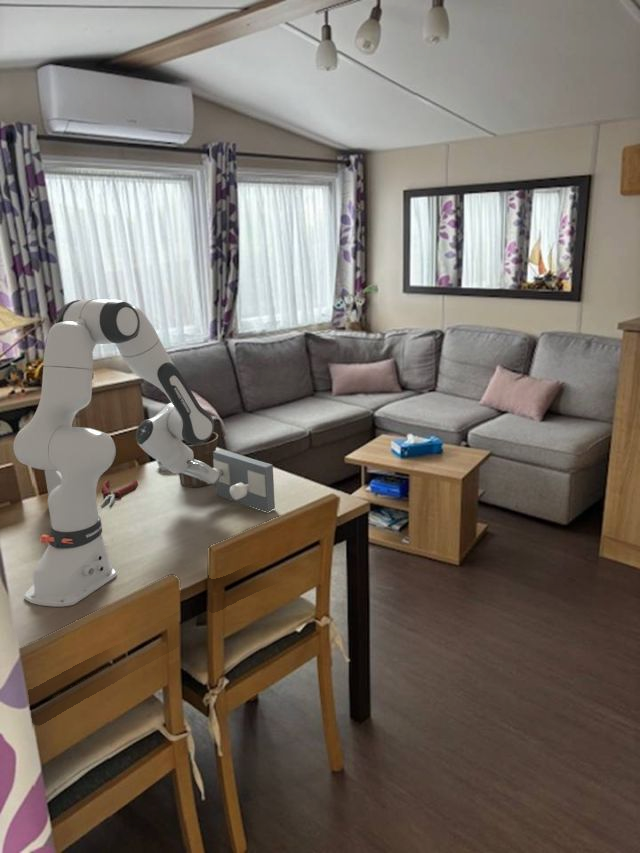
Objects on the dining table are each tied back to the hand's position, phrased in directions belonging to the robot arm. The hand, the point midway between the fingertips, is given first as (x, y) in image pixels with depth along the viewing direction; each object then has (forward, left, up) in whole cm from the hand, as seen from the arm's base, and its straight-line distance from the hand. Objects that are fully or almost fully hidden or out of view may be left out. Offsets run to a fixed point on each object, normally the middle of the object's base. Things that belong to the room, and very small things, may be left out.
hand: (205, 479), depth 199 cm
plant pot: (+17, +11, -9) cm, 22 cm away
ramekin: (+29, +27, -9) cm, 41 cm away
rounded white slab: (-19, +37, -9) cm, 43 cm away
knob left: (+3, -2, -1) cm, 4 cm away
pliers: (+1, +35, -9) cm, 36 cm away
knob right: (-7, -15, -2) cm, 17 cm away
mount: (+3, -11, -8) cm, 14 cm away
